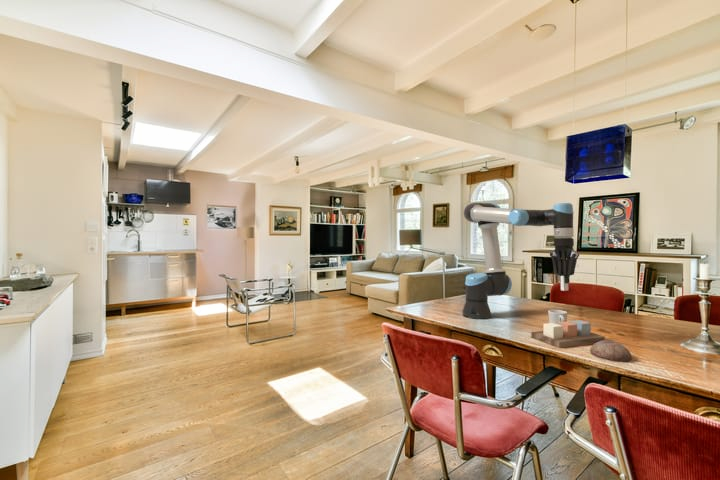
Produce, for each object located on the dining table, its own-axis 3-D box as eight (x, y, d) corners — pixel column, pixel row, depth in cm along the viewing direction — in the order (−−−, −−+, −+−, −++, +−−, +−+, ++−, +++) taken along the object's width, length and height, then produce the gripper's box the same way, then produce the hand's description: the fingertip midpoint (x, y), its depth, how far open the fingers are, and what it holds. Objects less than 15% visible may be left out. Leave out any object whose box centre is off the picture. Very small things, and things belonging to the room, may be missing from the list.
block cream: (543, 335, 136) (543, 323, 136) (552, 334, 138) (552, 322, 138) (553, 339, 132) (553, 326, 132) (563, 337, 133) (563, 325, 133)
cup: (573, 332, 147) (573, 315, 147) (554, 331, 149) (554, 314, 149) (563, 326, 158) (563, 309, 158) (545, 325, 159) (545, 309, 159)
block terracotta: (557, 333, 138) (557, 322, 138) (566, 332, 140) (566, 321, 140) (567, 337, 134) (567, 325, 134) (577, 336, 135) (577, 324, 135)
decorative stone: (582, 352, 123) (582, 338, 123) (607, 349, 126) (606, 335, 126) (614, 364, 111) (613, 348, 111) (639, 360, 114) (639, 345, 114)
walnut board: (531, 337, 140) (531, 332, 140) (573, 332, 147) (574, 327, 147) (559, 348, 127) (559, 342, 127) (604, 342, 133) (604, 336, 133)
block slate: (570, 332, 140) (570, 321, 140) (579, 331, 142) (579, 320, 142) (581, 335, 136) (581, 324, 136) (590, 334, 137) (590, 323, 137)
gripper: (544, 238, 149) (545, 288, 148) (570, 237, 136) (571, 293, 136) (557, 238, 151) (558, 288, 151) (583, 237, 138) (584, 292, 138)
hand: (564, 290), depth 143 cm, fingers closed
